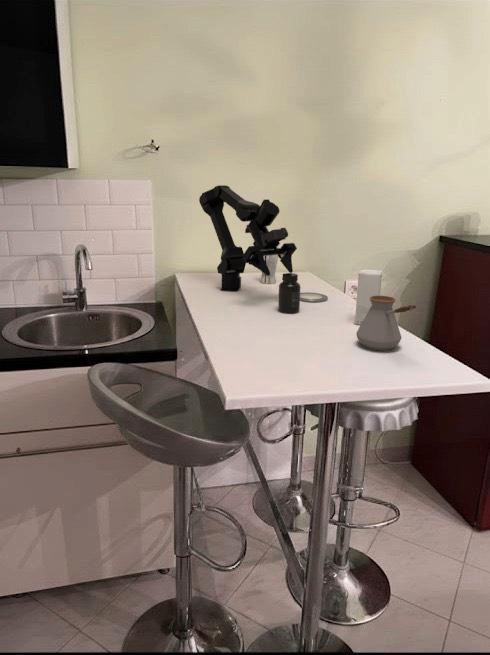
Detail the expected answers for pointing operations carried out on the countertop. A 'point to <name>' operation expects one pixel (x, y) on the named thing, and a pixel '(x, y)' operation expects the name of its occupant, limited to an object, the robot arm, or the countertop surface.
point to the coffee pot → (381, 324)
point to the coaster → (312, 297)
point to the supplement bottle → (289, 294)
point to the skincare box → (366, 292)
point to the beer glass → (270, 269)
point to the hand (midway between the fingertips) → (280, 273)
